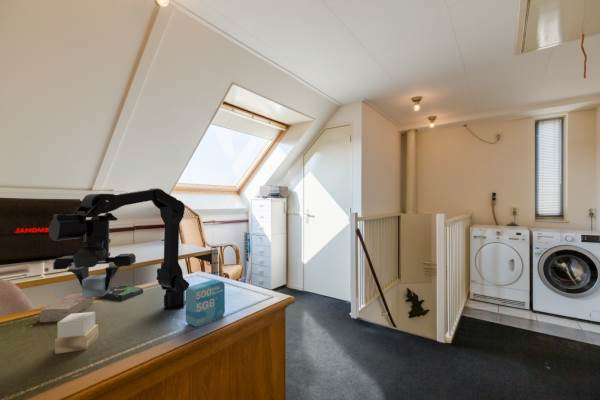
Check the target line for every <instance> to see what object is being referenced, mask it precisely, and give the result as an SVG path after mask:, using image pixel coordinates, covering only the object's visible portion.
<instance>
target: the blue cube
mask: <svg viewBox="0 0 600 400" xmlns="http://www.w3.org/2000/svg"><path fill="white" fill-rule="evenodd" d="M105 282H106V274H93V275H88V277H87V278H85V279H83V280H82V287H81V293H82V298H88V297H93V298H95V297H102V296H104V295H105V294H107V293H108V292H109V291H110V288H111V286H110V287H109V289H108V290H107V291H106V289H105Z"/></svg>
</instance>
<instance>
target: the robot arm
mask: <svg viewBox="0 0 600 400" xmlns="http://www.w3.org/2000/svg"><path fill="white" fill-rule="evenodd" d="M150 201H151V202H152V204H153V205H154V207H156V208H157V209H158V210H159V214H160V217H161V220H162V222H163V224H164V231H163V232H164V236H163V237H164V239H163V241H164V242H163V243H164V244H163V264H162V265H161V266H160V268H156V280H157V283H158V285H160V286H161V289H162V291H163V290H164V291H165V293H164V294H163V307H164V308H163V309H164V310H165V311H166V310H177V309H184V308H185V306H186V289H187V288H188V287H189V286H190V283H189V282H188V281H187V280H186V279H185V278H184V275H183V274H184V273H183V268H182V267H181V265H180V263H179V248H180V247H179V246H180V245H179V243H180V223H181V221H182V220H183V218H184V215H185V211H186V206H185V204H184V203H183V201H181V200H180V199H177V198H176V197H174V196H172V195H170V194H169V193H167V192H165V191H164V189H161V188H158V187H157V188H149V189H146V190H145V189H144V190H137V191H131V192H125V193H89V194H87V195H85V196H84V197H83V198H82V200H81V204H80V205H79V206H78V208H77V209H76V210H75V211H74V212H73V213H72V214H62V213H61V214H59V213H57V214H53V216H52V217H53V219H52V220H51V221H50V225H49V226H48V236H49V238H50V240H52V241H63V240H64V241H66V240H77V239H81V238H82V237H83V236H84V241H82V243H81V248H80V249H79V250H78V251H77V252H76V253H74V254H73V255H63V256H62V257H58V258H57V257H56V259H55V260H54V261H53V263H52V269H53V270H66V271H67V272H68V273H70V272H71V273H72V274H73V275H75V277H76V279H78V281H79V285H80V286H81V288H82V280H83V279H85V278H87V277H89V276H90V274H89V268H93V267H94V268H95V267H96V266H97V265H106V264H107V265H108V266H107V267H105V273H106V274H105V275H106V282H105V289H106V291H107V290H108V289H109V287H110V288H111V285H112V282H113V281H114V277H115V276H116V274H117V272H118V270H119V269H121V268H122V267H129V266H131V265H133V264H134V263H136V255H135V254H134V253H132V252H131V253H120V254H117V255H116V256H111V252H110V243H111V238H110V221H112V222H115V221H118V218H117V217H116V216H115V215H113V213H112V212H113V211H116V210H118V209H120V208H122V207H124V206H128V205H133V204H139V203H144V202H145V203H146V202H150ZM102 214H104V215H102ZM86 218H89V219H86ZM156 280H155V281H156Z"/></svg>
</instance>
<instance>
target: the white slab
mask: <svg viewBox="0 0 600 400" xmlns="http://www.w3.org/2000/svg"><path fill="white" fill-rule="evenodd" d="M95 325H96V311H87V312H86V311H85V312H78V313H74V314H70V315H69V316H67V317H65V318H64V319H62V320H61V321H57V337H58V338H63V337H74V336H84V335H85V334H86V333H87V332H88V331H90V330H91V329H92V328H93V327H94V326H95Z"/></svg>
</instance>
